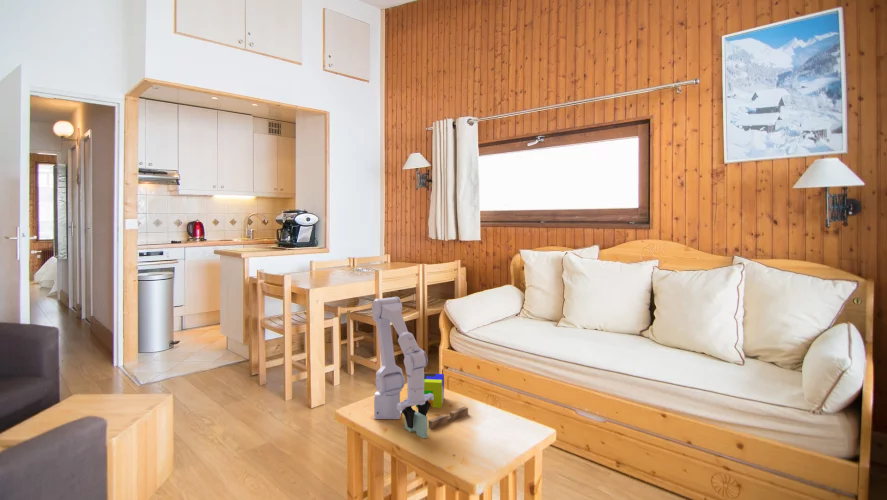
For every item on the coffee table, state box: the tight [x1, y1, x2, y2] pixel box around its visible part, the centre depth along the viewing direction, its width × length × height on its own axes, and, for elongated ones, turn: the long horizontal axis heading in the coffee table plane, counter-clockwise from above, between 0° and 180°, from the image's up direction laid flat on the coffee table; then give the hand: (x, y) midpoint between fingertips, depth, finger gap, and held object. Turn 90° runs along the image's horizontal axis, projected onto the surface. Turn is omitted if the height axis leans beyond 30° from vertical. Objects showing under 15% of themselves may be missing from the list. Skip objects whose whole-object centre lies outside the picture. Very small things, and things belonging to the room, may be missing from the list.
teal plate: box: [404, 410, 428, 439], centre depth 159 cm, size 10×2×7 cm, turn 43°
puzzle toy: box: [415, 373, 445, 409], centre depth 186 cm, size 10×10×10 cm
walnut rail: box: [427, 405, 469, 430], centre depth 169 cm, size 18×2×3 cm, turn 132°
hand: (415, 425), depth 159 cm, fingers open, 4 cm apart
